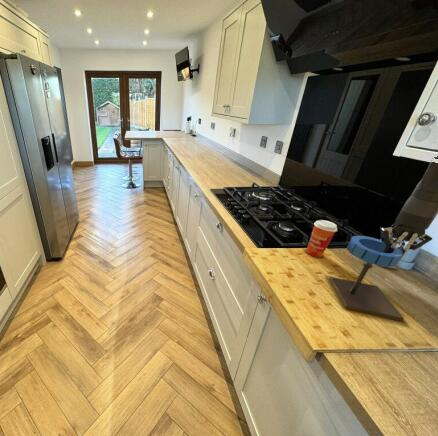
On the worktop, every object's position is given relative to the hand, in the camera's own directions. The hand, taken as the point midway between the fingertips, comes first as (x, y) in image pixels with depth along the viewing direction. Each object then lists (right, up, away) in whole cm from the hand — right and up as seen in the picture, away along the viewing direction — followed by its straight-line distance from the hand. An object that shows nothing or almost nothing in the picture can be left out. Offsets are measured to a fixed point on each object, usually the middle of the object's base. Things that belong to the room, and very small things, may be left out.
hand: (391, 256), depth 82 cm
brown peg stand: (-16, -12, -7) cm, 22 cm away
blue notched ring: (-5, 0, +2) cm, 6 cm away
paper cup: (-16, -1, +16) cm, 22 cm away
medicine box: (+9, -4, +12) cm, 16 cm away
